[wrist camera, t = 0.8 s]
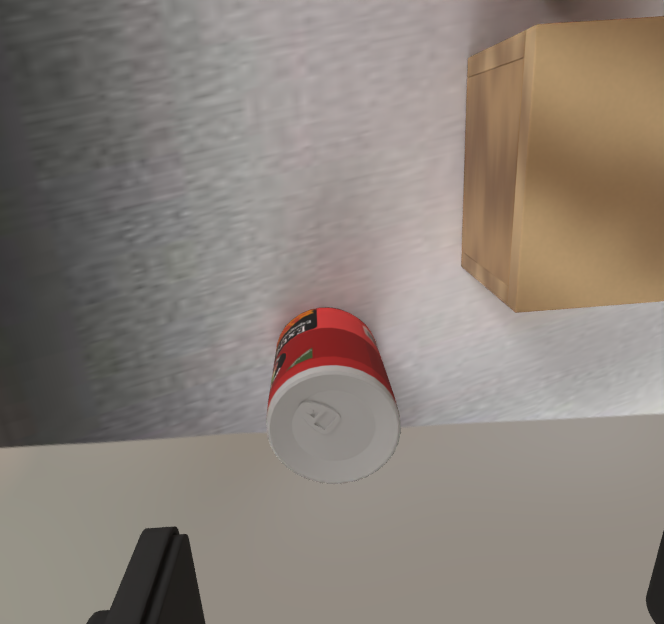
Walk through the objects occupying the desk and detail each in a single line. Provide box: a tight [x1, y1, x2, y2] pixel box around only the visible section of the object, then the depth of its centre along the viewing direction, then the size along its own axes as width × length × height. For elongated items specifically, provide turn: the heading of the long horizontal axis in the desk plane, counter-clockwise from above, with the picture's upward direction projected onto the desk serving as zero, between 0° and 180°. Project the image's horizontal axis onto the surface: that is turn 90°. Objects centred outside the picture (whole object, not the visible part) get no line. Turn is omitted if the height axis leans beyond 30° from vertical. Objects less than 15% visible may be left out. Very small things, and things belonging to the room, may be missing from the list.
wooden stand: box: [461, 16, 664, 313], centre depth 29 cm, size 14×11×10 cm
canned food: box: [266, 307, 401, 484], centre depth 33 cm, size 8×8×11 cm
